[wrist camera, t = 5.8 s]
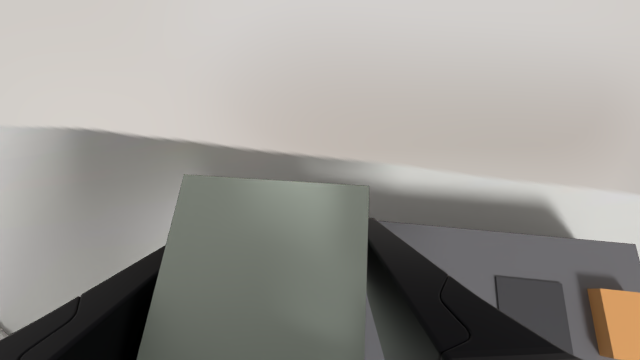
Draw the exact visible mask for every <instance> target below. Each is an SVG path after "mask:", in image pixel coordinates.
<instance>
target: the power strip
mask: <svg viewBox="0 0 640 360" xmlns="http://www.w3.org/2000/svg"><path fill="white" fill-rule="evenodd" d="M378 222H380V223H381V224H382V225H383V226H385V227H386V228H387V229H389V230H390V231H391V232H393V233H394V234H395V235H397V236H398V237H399V238H401V239H402V240H403V241H405V242H406V243H407V244H409V245H410V246H411V247H413V248H414V249H415V250H417V251H418V252H419V253H421V254H422V255H423V256H425V257H426V258H427V259H429V260H430V261H431V262H433V263H434V264H435V265H437V266H438V267H439V268H441V269H442V270H443V271H445V272H446V273H447V274H448V275H449V276H451V277H453V278H454V279H455V280H457V281H458V282H459V283H461V284H462V285H463V286H465V287H466V288H468V289H469V290H470V291H472V292H473V293H475V294H476V295H477V296H479V297H480V298H482V299H483V300H485V301H486V302H488V303H490V304H491V305H493V306H494V307H496V308H497V309H499V310H500V311H502V312H503V313H505V314H507V315H508V316H510V317H511V318H513V319H515V320H516V321H518V322H519V323H521V324H523V325H524V326H526V327H527V328H529V329H531V330H532V331H534V332H535V333H537V334H539V335H540V336H542V337H543V338H545V339H547V340H548V341H550V342H551V343H553V344H555V345H556V346H558V347H560V348H561V349H563V350H565V351H566V352H568V353H570V354H572V355H574V356H576V357H578V358H580V359H583V360H640V261H639V257H638V253H637V249H636V245H635V244H627V243H616V242H605V241H594V240H583V239H572V238H561V237H550V236H539V235H528V234H517V233H506V232H495V231H484V230H473V229H462V228H451V227H440V226H429V225H418V224H408V223H397V222H386V221H378ZM364 360H385V359H384V355H383V352H382V348H381V344H380V341H379V337H378V334H377V330H376V326H375V323H374V319H373V315H372V312H371V308H370V305H369V301H368V297H367V293H366V319H365V355H364Z"/></svg>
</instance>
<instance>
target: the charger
mask: <svg viewBox="0 0 640 360" xmlns="http://www.w3.org/2000/svg"><path fill="white" fill-rule="evenodd" d="M368 211H369V186H362V185H346V184H330V183H314V182H298V181H282V180H266V179H250V178H233V177H217V176H201V175H185V174H184V176H183V180H182V184H181V188H180V192H179V196H178V200H177V204H176V208H175V212H174V215H173V219H172V223H171V227H170V231H169V235H168V239H167V243H166V247H165V250H164V254H163V258H162V262H161V266H160V270H159V274H158V278H157V282H156V286H155V289H154V293H153V297H152V301H151V305H150V309H149V313H148V317H147V321H146V324H145V328H144V332H143V336H142V340H141V344H140V348H139V352H138V356H137V360H364V355H365V319H366V283H367V247H368Z"/></svg>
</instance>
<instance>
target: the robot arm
mask: <svg viewBox="0 0 640 360" xmlns="http://www.w3.org/2000/svg"><path fill="white" fill-rule="evenodd" d="M165 247H166V245H165V246H163V247H162V248H160V249H158V250H157V251H155V252H153V253H151V254H150V255H148V256H146V257H145V258H143V259H141V260H140V261H138V262H136V263H134V264H133V265H131V266H129V267H128V268H126V269H124V270H123V271H121V272H119V273H117V274H116V275H114V276H112V277H111V278H109V279H107V280H106V281H104V282H102V283H100V284H99V285H97V286H95V287H94V288H92V289H90V290H88V291H87V292H85V293H83V294H82V295H81V297H76V298H75V299H73V300H71V301H70V302H68V303H66V304H65V305H63V306H61V307H59V308H58V309H56V310H54V311H52V312H51V313H49V314H47V315H45V316H44V317H42V318H40V319H38V320H37V321H35V322H33V323H31V324H29V325H27V326H25V327H24V328H22V329H20V330H18V331H16V332H14V333H13V334H11V335H9V336H7V337H5V338H3V339H1V340H0V360H137V356H138V352H139V348H140V344H141V340H142V336H143V332H144V328H145V324H146V321H147V317H148V313H149V309H150V305H151V301H152V297H153V293H154V289H155V286H156V282H157V278H158V274H159V270H160V266H161V262H162V258H163V254H164V250H165ZM366 293H367V297H368V301H369V305H370V308H371V312H372V315H373V319H374V323H375V326H376V330H377V334H378V337H379V341H380V344H381V348H382V352H383V355H384V359H385V360H583V359H580V358H578V357H576V356H574V355H572V354H570V353H568V352H566V351H565V350H563V349H561V348H560V347H558V346H556V345H555V344H553V343H551V342H550V341H548V340H547V339H545V338H543V337H542V336H540V335H539V334H537V333H535V332H534V331H532V330H531V329H529V328H527V327H526V326H524V325H523V324H521V323H519V322H518V321H516V320H515V319H513V318H511V317H510V316H508V315H507V314H505V313H503V312H502V311H500V310H499V309H497V308H496V307H494V306H493V305H491V304H490V303H488V302H486V301H485V300H483V299H482V298H480V297H479V296H477V295H476V294H475V293H473V292H472V291H470V290H469V289H468V288H466V287H465V286H463V285H462V284H461V283H459V282H458V281H457V280H455V279H454V278H453V277H451V276H449V275H448V274H447V273H446V272H445V271H443V270H442V269H441V268H439V267H438V266H437V265H435V264H434V263H433V262H431V261H430V260H429V259H427V258H426V257H425V256H423V255H422V254H421V253H419V252H418V251H417V250H415V249H414V248H413V247H411V246H410V245H409V244H407V243H406V242H405V241H403V240H402V239H401V238H399V237H398V236H397V235H395V234H394V233H393V232H391V231H390V230H389V229H387V228H386V227H385V226H383V225H382V224H381V223H380V222H378V221H377V220H376V219H374V218H368V247H367V283H366Z"/></svg>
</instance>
